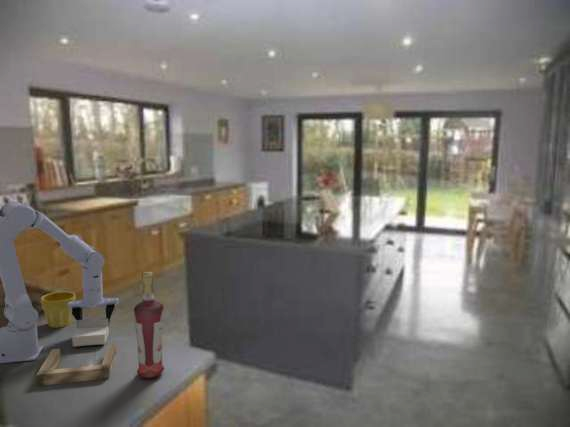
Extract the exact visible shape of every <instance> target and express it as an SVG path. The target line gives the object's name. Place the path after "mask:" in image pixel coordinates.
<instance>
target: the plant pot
mask: <svg viewBox="0 0 570 427" xmlns="http://www.w3.org/2000/svg"><path fill="white" fill-rule="evenodd" d="M76 299H77V298H76V293H75V292H71V291H55V292H51V293H47V294H45V295H43V296H41V297H40V306H41V309H42V310H43V311H44V314H45V318H46V321H47V324H48V327H50V328H54V329H55V328H57V329H58V328H64V327H66V326H69V325H70V324H71V321H72V316H73V315H72V310H68V303H69V302H73V301H77V300H76Z"/></svg>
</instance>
